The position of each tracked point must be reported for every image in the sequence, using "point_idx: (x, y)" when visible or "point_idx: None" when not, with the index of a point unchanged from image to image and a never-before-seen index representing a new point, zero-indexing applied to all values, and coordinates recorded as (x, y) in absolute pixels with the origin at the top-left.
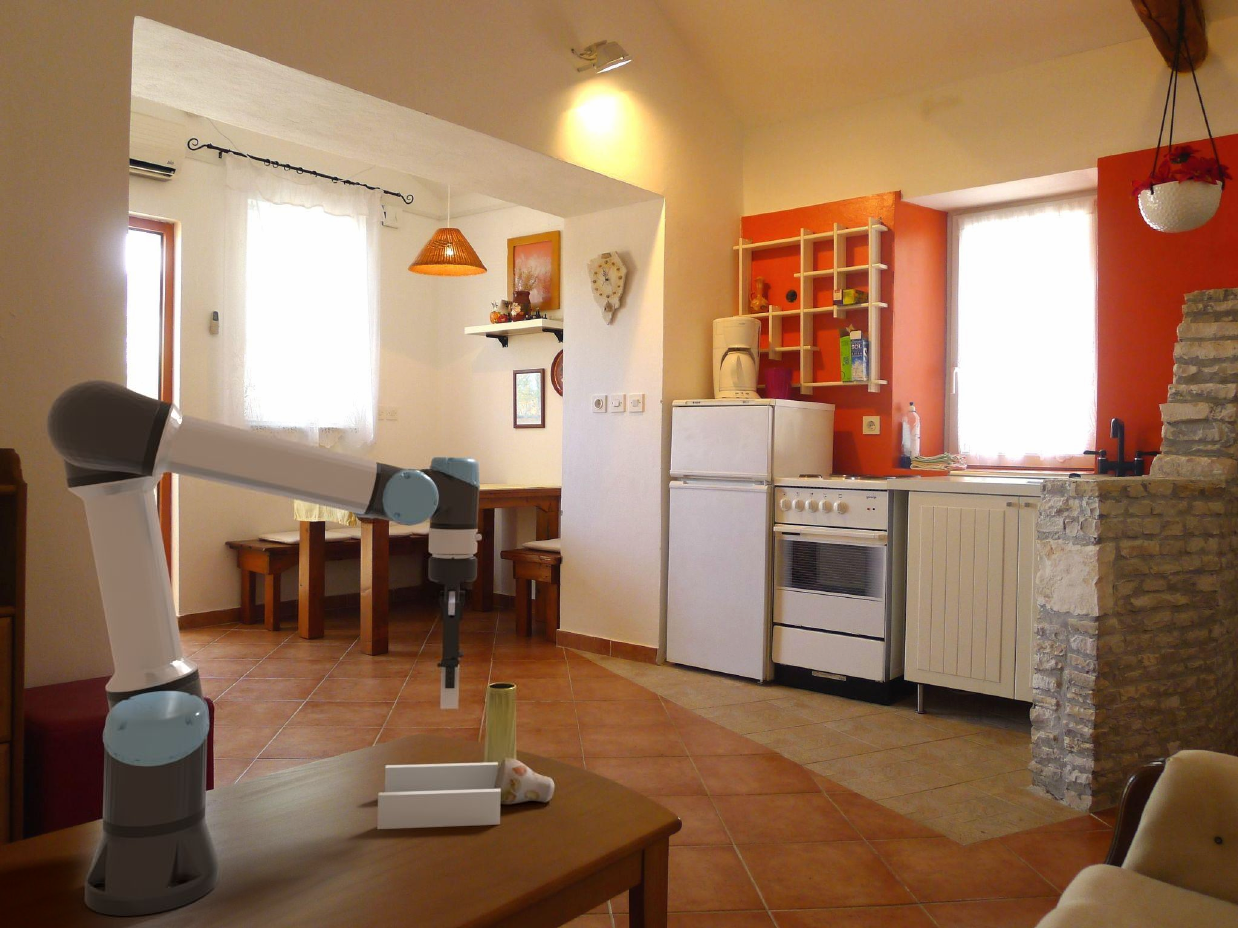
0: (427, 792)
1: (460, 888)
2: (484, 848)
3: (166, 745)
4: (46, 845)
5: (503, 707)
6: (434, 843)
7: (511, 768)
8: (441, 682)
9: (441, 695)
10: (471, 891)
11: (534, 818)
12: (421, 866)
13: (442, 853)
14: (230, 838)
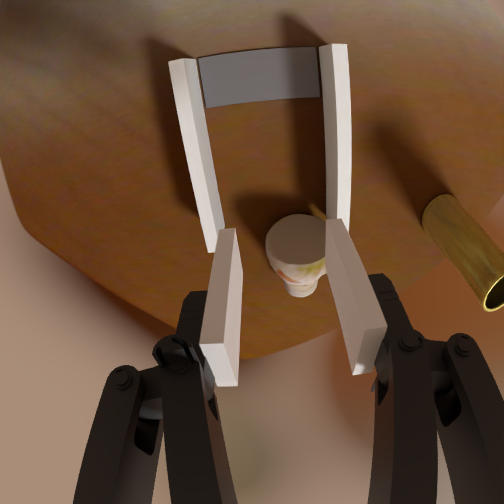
0: (190, 143)
1: (53, 207)
2: (138, 215)
3: None
4: None
5: (468, 275)
6: (141, 154)
7: (280, 269)
8: (209, 290)
9: (214, 258)
10: (51, 217)
11: None
12: (81, 156)
13: (116, 171)
14: None
